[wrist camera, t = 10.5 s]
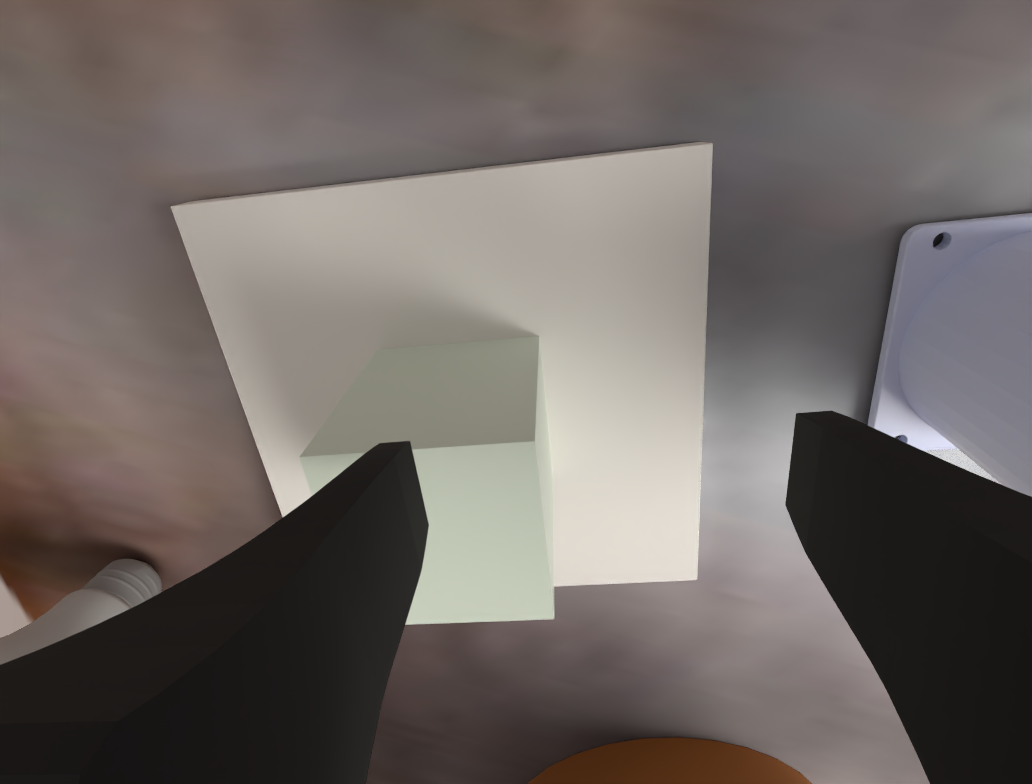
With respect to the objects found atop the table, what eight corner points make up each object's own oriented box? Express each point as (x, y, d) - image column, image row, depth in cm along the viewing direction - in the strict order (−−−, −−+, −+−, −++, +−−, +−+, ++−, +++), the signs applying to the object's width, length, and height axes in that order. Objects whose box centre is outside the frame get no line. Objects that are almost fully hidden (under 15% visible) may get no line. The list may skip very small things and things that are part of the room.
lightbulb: (123, 625, 27) (-120, 916, 17) (47, 526, 25) (-287, 801, 15) (236, 607, 26) (48, 903, 16) (170, 501, 24) (-101, 778, 14)
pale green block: (539, 335, 18) (535, 441, 12) (552, 474, 21) (554, 619, 15) (377, 349, 19) (299, 456, 13) (408, 483, 21) (354, 626, 15)
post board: (702, 141, 17) (779, 154, 11) (690, 558, 24) (734, 695, 18) (192, 201, 18) (36, 238, 13) (321, 576, 25) (257, 708, 20)
